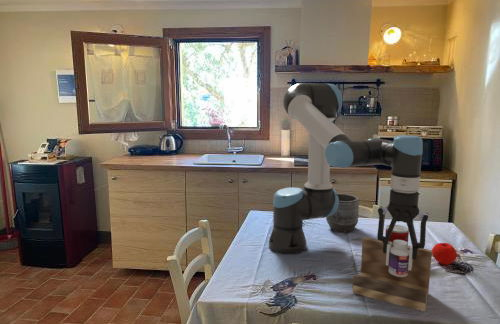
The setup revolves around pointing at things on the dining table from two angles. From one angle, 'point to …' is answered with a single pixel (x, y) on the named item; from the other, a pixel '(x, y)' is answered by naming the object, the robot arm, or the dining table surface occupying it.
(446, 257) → the apple
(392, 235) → the canned food
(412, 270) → the cleat board
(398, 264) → the pill bottle
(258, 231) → the dining table surface
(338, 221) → the planter
